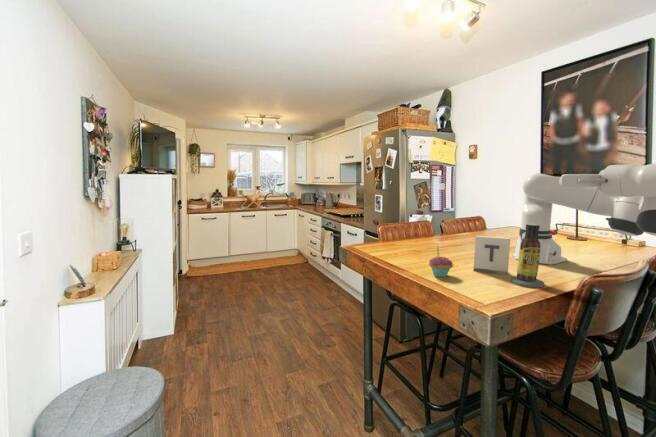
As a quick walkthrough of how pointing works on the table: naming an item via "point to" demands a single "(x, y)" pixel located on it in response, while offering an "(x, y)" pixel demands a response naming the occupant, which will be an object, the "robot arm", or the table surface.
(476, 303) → the table surface
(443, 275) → the cupcake
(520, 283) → the slate mat
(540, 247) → the robot arm
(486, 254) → the letter plaque
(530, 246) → the sauce bottle
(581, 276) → the table surface
